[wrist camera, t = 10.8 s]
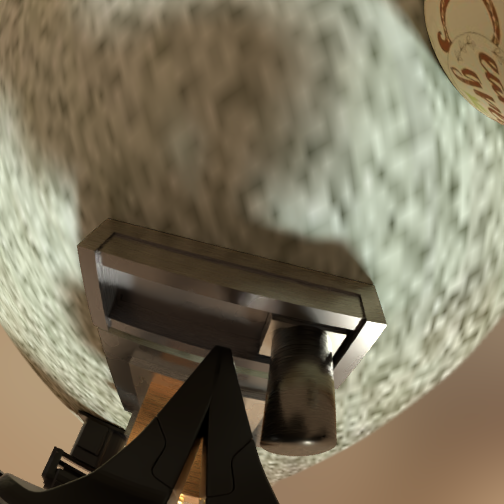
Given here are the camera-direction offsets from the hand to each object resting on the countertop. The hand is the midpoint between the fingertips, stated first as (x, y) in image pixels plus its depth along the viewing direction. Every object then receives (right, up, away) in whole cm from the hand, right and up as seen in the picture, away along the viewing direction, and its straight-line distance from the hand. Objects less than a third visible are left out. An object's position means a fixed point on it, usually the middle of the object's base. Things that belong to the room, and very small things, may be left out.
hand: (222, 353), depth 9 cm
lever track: (0, +2, +3) cm, 3 cm away
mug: (+11, +11, -5) cm, 17 cm away
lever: (+3, 0, +2) cm, 3 cm away
